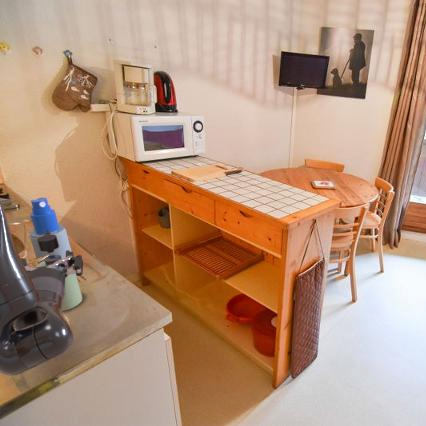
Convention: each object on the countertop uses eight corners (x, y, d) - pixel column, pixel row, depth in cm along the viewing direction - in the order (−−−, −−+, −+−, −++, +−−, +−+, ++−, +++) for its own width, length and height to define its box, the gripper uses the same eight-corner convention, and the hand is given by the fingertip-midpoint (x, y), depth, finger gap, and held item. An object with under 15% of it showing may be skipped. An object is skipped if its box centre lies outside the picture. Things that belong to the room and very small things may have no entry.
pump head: (60, 253, 85) (56, 239, 83) (40, 256, 83) (36, 242, 81) (60, 241, 90) (57, 228, 88) (42, 245, 88) (38, 231, 86)
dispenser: (82, 305, 91) (70, 261, 85) (46, 315, 87) (31, 269, 81) (82, 290, 97) (71, 248, 91) (48, 299, 92) (34, 254, 87)
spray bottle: (80, 267, 108) (62, 199, 98) (48, 279, 100) (26, 207, 91) (67, 259, 112) (49, 192, 102) (36, 270, 105) (13, 199, 95)
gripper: (79, 269, 69) (78, 238, 81) (-11, 288, 61) (3, 250, 73) (86, 296, 72) (85, 263, 84) (1, 318, 64) (12, 277, 76)
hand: (46, 257), depth 79 cm, fingers open, 8 cm apart
